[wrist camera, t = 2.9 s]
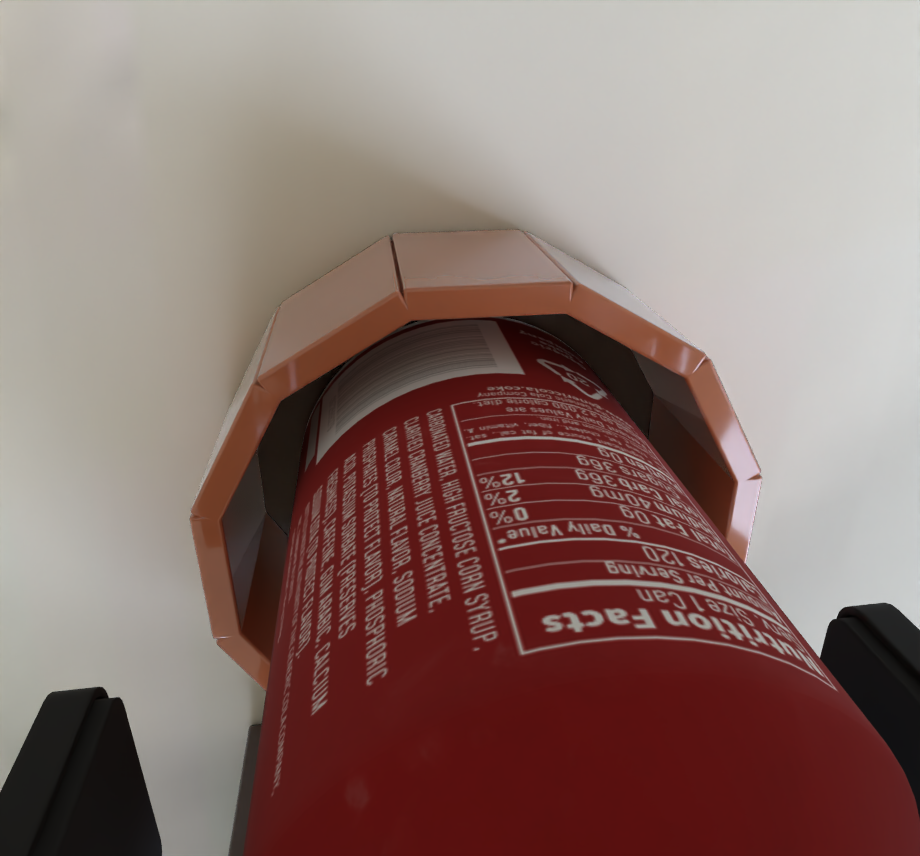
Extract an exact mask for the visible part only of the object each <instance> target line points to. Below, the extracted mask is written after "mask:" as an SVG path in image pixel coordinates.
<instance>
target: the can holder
mask: <svg viewBox="0 0 920 856" xmlns="http://www.w3.org/2000/svg"><path fill="white" fill-rule="evenodd" d="M548 314H567V315H569V316H570V317H572V318H574V319H576V320H578V321H580V322H581V323H583V324H585V325H587V326H589V327H591V328H593V329H594V330H596V331H598V332H600V333H602V334H604V335H605V336H607V337H609V338H611V339H613V340H615V341H617V342H618V343H620V344H622V345H624V346H626V347H628V348H629V349H631V350H632V352H633V354H634V356H635V358H636V360H637V362H638V364H639V366H640V368H641V370H642V372H643V374H644V376H645V378H646V380H647V382H648V384H649V385H650V387H651V389H652V391H653V393H654V395H653V404H652V412H651V421H650V430H649V439H648V440H649V442H650V443H651V444H652V446H653V447H654V448H655V449H656V451H657V452H658V453H659V454H660V456H661V457H662V458H663V460H664V461H665V462H666V463H667V465H668V466H669V467H670V468H671V470H672V471H673V472H674V474H675V475H676V476H677V477H678V479H679V480H680V481H681V482H682V484H683V485H684V486H685V488H686V489H687V490H688V491H689V493H690V494H691V495H692V496H693V498H694V499H695V500H696V502H697V503H698V504H699V505H700V507H701V508H702V509H703V510H704V512H705V513H706V514H707V516H708V517H709V518H710V519H711V521H712V522H713V523H714V525H715V526H716V527H717V528H718V530H719V531H720V532H721V533H722V535H723V536H724V537H725V539H726V540H727V541H728V542H729V544H730V545H731V546H732V547H733V549H734V550H735V551H736V553H737V554H738V555H739V556H740V558H741V559H742V560H743V561H744V563H745V564H746V559H747V554H748V549H749V544H750V539H751V533H752V528H753V523H754V518H755V513H756V508H757V503H758V497H759V492H760V487H761V482H762V476H761V475H760V473H761V469H760V466H759V464H758V462H757V460H756V458H755V455H754V453H753V451H752V449H751V447H750V444H749V442H748V440H747V438H746V436H745V433H744V431H743V429H742V427H741V424H740V422H739V420H738V418H737V416H736V413H735V411H734V409H733V407H732V405H731V402H730V400H729V398H728V396H727V394H726V391H725V389H724V387H723V385H722V383H721V380H720V378H719V376H718V374H717V372H716V369H715V367H714V365H713V363H712V361H711V359H709V358H708V357H707V356H706V354H705V353H704V352H703V351H702V350H701V349H699V348H698V347H697V346H696V345H695V344H693V343H692V342H691V341H690V340H688V339H687V338H686V337H685V336H684V335H682V334H681V333H680V332H679V331H677V330H676V329H675V328H674V327H673V326H671V325H670V324H669V323H668V322H667V321H665V320H664V319H663V318H662V317H660V316H659V315H658V314H657V313H656V312H654V311H653V310H652V309H651V308H649V307H648V306H647V305H646V304H645V303H643V302H642V301H641V300H640V299H638V298H637V297H636V296H635V295H634V294H632V293H631V292H630V291H629V290H628V289H626V288H625V287H623V286H622V285H620V284H618V283H616V282H615V281H613V280H611V279H609V278H608V277H606V276H604V275H602V274H601V273H599V272H597V271H595V270H594V269H592V268H590V267H588V266H587V265H585V264H583V263H582V262H580V261H578V260H576V259H575V258H573V257H571V256H569V255H568V254H566V253H564V252H562V251H561V250H559V249H557V248H555V247H554V246H552V245H550V244H548V243H547V242H545V241H543V240H541V239H540V238H538V237H536V236H534V235H533V234H531V233H529V232H527V231H525V232H524V233H523V232H522V231H521V230H519V229H512V230H482V231H452V232H422V233H395V234H393V235H392V240H391V238H390V237H389V236H385V237H384V238H382V239H381V240H379V241H377V242H376V243H374V244H373V245H371V246H370V247H368V248H366V249H365V250H363V251H362V252H360V253H359V254H357V255H355V256H354V257H352V258H351V259H349V260H348V261H346V262H344V263H343V264H341V265H340V266H338V267H337V268H335V269H333V270H332V271H330V272H329V273H327V274H326V275H324V276H322V277H321V278H319V279H318V280H316V281H315V282H313V283H311V284H310V285H308V286H307V287H305V288H303V289H302V290H300V291H299V292H297V293H296V294H294V295H292V296H291V297H289V298H288V299H286V300H285V301H283V302H282V303H281V305H280V308H277V309H276V310H275V312H274V314H273V316H272V318H271V321H270V323H269V325H268V327H267V329H266V331H265V333H264V335H263V337H262V340H261V342H260V344H259V346H258V348H257V350H256V352H255V354H254V356H253V359H252V361H251V363H250V365H249V367H248V369H247V371H246V373H245V375H244V378H243V380H242V382H241V384H240V386H239V388H238V390H237V392H236V394H235V396H234V399H233V401H232V403H231V405H230V407H229V409H228V412H227V414H226V417H225V420H224V422H223V425H222V428H221V430H220V433H219V436H218V438H217V441H216V444H215V446H214V449H213V452H212V454H211V457H210V460H209V462H208V465H207V468H206V470H205V473H204V476H203V478H202V481H201V484H200V486H199V489H198V492H197V494H196V497H195V500H194V502H193V505H192V508H191V513H192V514H191V516H190V524H191V529H192V535H193V540H194V545H195V550H196V555H197V560H198V565H199V570H200V575H201V580H202V585H203V590H204V595H205V600H206V605H207V610H208V615H209V620H210V626H211V631H212V636H213V638H214V639H217V640H216V642H217V645H218V646H219V647H220V648H221V649H222V650H223V651H224V652H226V653H227V654H228V655H229V656H230V657H231V658H232V659H233V660H234V661H235V662H236V663H237V664H238V665H239V666H240V667H241V668H242V669H243V670H244V671H245V672H246V673H247V674H248V675H249V676H250V677H251V678H252V679H253V680H255V681H256V682H257V683H258V684H259V685H260V686H261V687H262V688H263V689H264V690H265V691H267V684H268V677H269V670H270V663H271V656H272V649H273V642H274V635H275V628H276V621H277V615H278V608H279V601H280V594H281V587H282V580H283V573H284V566H285V559H286V552H287V545H288V538H289V537H288V536H287V535H286V534H285V533H284V532H283V531H282V530H281V528H280V527H279V526H278V525H277V524H276V523H275V522H274V520H273V519H272V518H271V517H270V516H269V515H268V514H267V512H266V508H265V501H264V494H263V487H262V480H261V473H260V466H259V459H258V453H257V448H258V446H259V444H260V442H261V440H262V438H263V436H264V434H265V432H266V430H267V428H268V426H269V424H270V422H271V420H272V418H273V416H274V414H275V412H276V410H277V408H278V406H279V404H280V402H281V401H282V400H283V399H285V398H287V397H288V396H290V395H292V394H293V393H295V392H296V391H298V390H300V389H301V388H303V387H305V386H306V385H308V384H309V383H311V382H313V381H314V380H316V379H318V378H319V377H321V376H322V375H324V374H326V373H327V372H329V371H331V370H332V369H334V368H335V367H337V366H339V365H340V364H342V363H344V362H345V361H347V360H348V359H350V358H352V357H353V356H355V355H357V354H358V353H360V352H361V351H363V350H365V349H366V348H368V347H370V346H371V345H373V344H374V343H376V342H378V341H379V340H381V339H383V338H384V337H386V336H387V335H389V334H391V333H392V332H394V331H396V330H397V329H399V328H400V327H402V326H404V325H405V324H407V323H409V322H410V321H418V320H439V319H461V318H483V317H505V316H526V315H548Z"/></svg>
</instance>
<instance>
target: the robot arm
mask: <svg viewBox="0 0 920 856" xmlns="http://www.w3.org/2000/svg"><path fill="white" fill-rule="evenodd" d="M820 659H821V661H822V662H823V663H824V665H825V666H826V667H827V668H828V670H829V671H830V672H831V673H832V675H833V676H834V677H835V679H836V680H837V681H838V682H839V684H840V685H841V686H842V687H843V689H844V690H845V691H846V693H847V694H848V695H849V696H850V698H851V699H852V700H853V701H854V703H855V704H856V705H857V707H858V708H859V709H860V710H861V712H862V713H863V714H864V715H865V717H866V718H867V719H868V721H869V722H870V723H871V724H872V726H873V727H874V728H875V729H876V731H877V732H878V733H879V735H880V736H881V737H882V738H883V740H884V741H885V742H886V744H887V745H888V746H889V748H890V749H891V751H892V753H893V754H894V756H895V758H896V759H897V761H898V762H899V764H900V766H901V767H902V769H903V771H904V773H905V775H906V777H907V779H908V782H909V784H910V787H911V789H912V792H913V794H914V797H915V800H916V804H917V809H918V814H919V818H920V630H919V629H918V628H917V627H916V626H915V625H914V624H913V623H912V622H911V621H910V620H909V619H907V618H906V617H905V616H904V615H903V614H902V613H901V612H900V611H899V610H898V609H897V608H895V607H894V606H893V605H891V604H887V603H878V604H868V605H859V606H850V607H845V608H843V609H842V610H841V611H840V612H839V614H838V616H837V619H833V620H832V621H831V622H830V623H829V626H828V629H827V633H826V637H825V640H824V644H823V648H822V652H821V656H820ZM0 856H162V845H161V839H160V835H159V832H158V828H157V824H156V821H155V817H154V813H153V810H152V806H151V802H150V799H149V795H148V791H147V788H146V784H145V780H144V777H143V773H142V769H141V766H140V762H139V758H138V755H137V751H136V747H135V744H134V740H133V736H132V733H131V729H130V725H129V722H128V718H127V714H126V711H125V707H124V704H123V701H122V699H121V698H120V697H116V698H109V697H108V695H107V692H106V690H105V689H104V688H103V687H94V688H85V689H75V690H66V691H57V692H52V693H50V694H49V695H48V696H47V697H46V699H45V701H44V702H43V704H42V706H41V708H40V710H39V713H38V715H37V717H36V719H35V721H34V723H33V725H32V727H31V729H30V731H29V733H28V736H27V738H26V740H25V742H24V744H23V746H22V748H21V750H20V752H19V754H18V756H17V759H16V761H15V763H14V765H13V767H12V769H11V771H10V773H9V775H8V777H7V780H6V782H5V784H4V786H3V788H2V790H1V792H0Z"/></svg>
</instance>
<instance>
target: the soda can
mask: <svg viewBox="0 0 920 856" xmlns="http://www.w3.org/2000/svg"><path fill="white" fill-rule="evenodd" d="M243 856H920V818H919V814H918V809H917V804H916V800H915V797H914V794H913V792H912V789H911V787H910V784H909V782H908V779H907V777H906V775H905V773H904V771H903V769H902V767H901V766H900V764H899V762H898V761H897V759H896V758H895V756H894V754H893V753H892V751H891V749H890V748H889V746H888V745H887V744H886V742H885V741H884V740H883V738H882V737H881V736H880V735H879V733H878V732H877V731H876V729H875V728H874V727H873V726H872V724H871V723H870V722H869V721H868V719H867V718H866V717H865V715H864V714H863V713H862V712H861V710H860V709H859V708H858V707H857V705H856V704H855V703H854V701H853V700H852V699H851V698H850V696H849V695H848V694H847V693H846V691H845V690H844V689H843V687H842V686H841V685H840V684H839V682H838V681H837V680H836V679H835V677H834V676H833V675H832V673H831V672H830V671H829V670H828V668H827V667H826V666H825V665H824V663H823V662H822V661H821V659H820V658H819V657H818V656H817V654H816V653H815V652H814V651H813V649H812V648H811V647H810V645H809V644H808V643H807V642H806V640H805V639H804V638H803V637H802V635H801V634H800V633H799V631H798V630H797V629H796V628H795V626H794V625H793V624H792V623H791V621H790V620H789V619H788V617H787V616H786V615H785V614H784V612H783V611H782V610H781V609H780V607H779V606H778V605H777V603H776V602H775V601H774V600H773V598H772V597H771V596H770V595H769V593H768V592H767V591H766V589H765V588H764V587H763V586H762V584H761V583H760V582H759V581H758V579H757V578H756V577H755V575H754V574H753V573H752V572H751V570H750V569H749V568H748V567H747V565H746V564H745V563H744V561H743V560H742V559H741V558H740V556H739V555H738V554H737V553H736V551H735V550H734V549H733V547H732V546H731V545H730V544H729V542H728V541H727V540H726V539H725V537H724V536H723V535H722V533H721V532H720V531H719V530H718V528H717V527H716V526H715V525H714V523H713V522H712V521H711V519H710V518H709V517H708V516H707V514H706V513H705V512H704V510H703V509H702V508H701V507H700V505H699V504H698V503H697V502H696V500H695V499H694V498H693V496H692V495H691V494H690V493H689V491H688V490H687V489H686V488H685V486H684V485H683V484H682V482H681V481H680V480H679V479H678V477H677V476H676V475H675V474H674V472H673V471H672V470H671V468H670V467H669V466H668V465H667V463H666V462H665V461H664V460H663V458H662V457H661V456H660V454H659V453H658V452H657V451H656V449H655V448H654V447H653V446H652V444H651V443H650V442H649V440H648V439H647V438H646V437H645V435H644V434H643V433H642V432H641V430H640V429H639V428H638V426H637V425H636V424H635V423H634V421H633V420H632V419H631V418H630V416H629V415H628V414H627V412H626V411H625V410H624V409H623V407H622V406H621V405H620V404H619V402H618V401H617V400H616V398H615V397H614V396H613V395H612V393H611V392H610V391H609V390H608V388H607V387H606V386H605V384H604V383H603V382H602V381H601V379H600V378H599V377H598V376H597V374H596V373H595V372H594V371H593V369H592V368H591V367H590V366H589V365H588V363H587V362H586V361H585V360H584V359H583V358H582V357H581V356H580V355H579V354H578V353H577V352H575V351H574V350H573V349H572V348H571V347H569V346H568V345H567V344H565V343H564V342H563V341H561V340H560V339H558V338H556V337H555V336H553V335H551V334H550V333H548V332H546V331H544V330H541V329H539V328H537V327H535V326H532V325H530V324H527V323H524V322H521V321H518V320H514V319H510V318H505V317H483V318H461V319H439V320H422V321H418V322H416V323H413V324H410V325H407V326H404V327H402V328H399V329H397V330H396V331H394V332H392V333H391V334H389V335H387V336H386V337H384V338H383V339H381V340H379V341H378V342H376V343H374V344H373V345H371V346H370V347H368V348H366V349H365V350H363V351H361V352H360V353H358V354H357V355H355V356H354V357H353V358H352V359H351V360H350V361H348V362H347V363H346V364H345V365H344V366H343V367H342V368H341V369H340V371H339V372H338V373H337V374H336V375H335V376H334V377H333V378H332V380H331V381H330V382H329V384H328V385H327V386H326V388H325V389H324V391H323V392H322V394H321V396H320V397H319V399H318V401H317V402H316V405H315V407H314V409H313V411H312V413H311V415H310V418H309V421H308V424H307V427H306V430H305V434H304V438H303V443H302V448H301V455H300V462H299V469H298V476H297V483H296V490H295V497H294V503H293V510H292V517H291V524H290V531H289V538H288V545H287V552H286V559H285V566H284V573H283V580H282V587H281V594H280V601H279V608H278V615H277V621H276V628H275V635H274V642H273V649H272V656H271V663H270V670H269V677H268V684H267V691H266V698H265V705H264V712H263V719H262V726H261V733H260V739H259V746H258V753H257V760H256V767H255V774H254V781H253V788H252V795H251V802H250V809H249V816H248V823H247V830H246V837H245V844H244V851H243Z"/></svg>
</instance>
